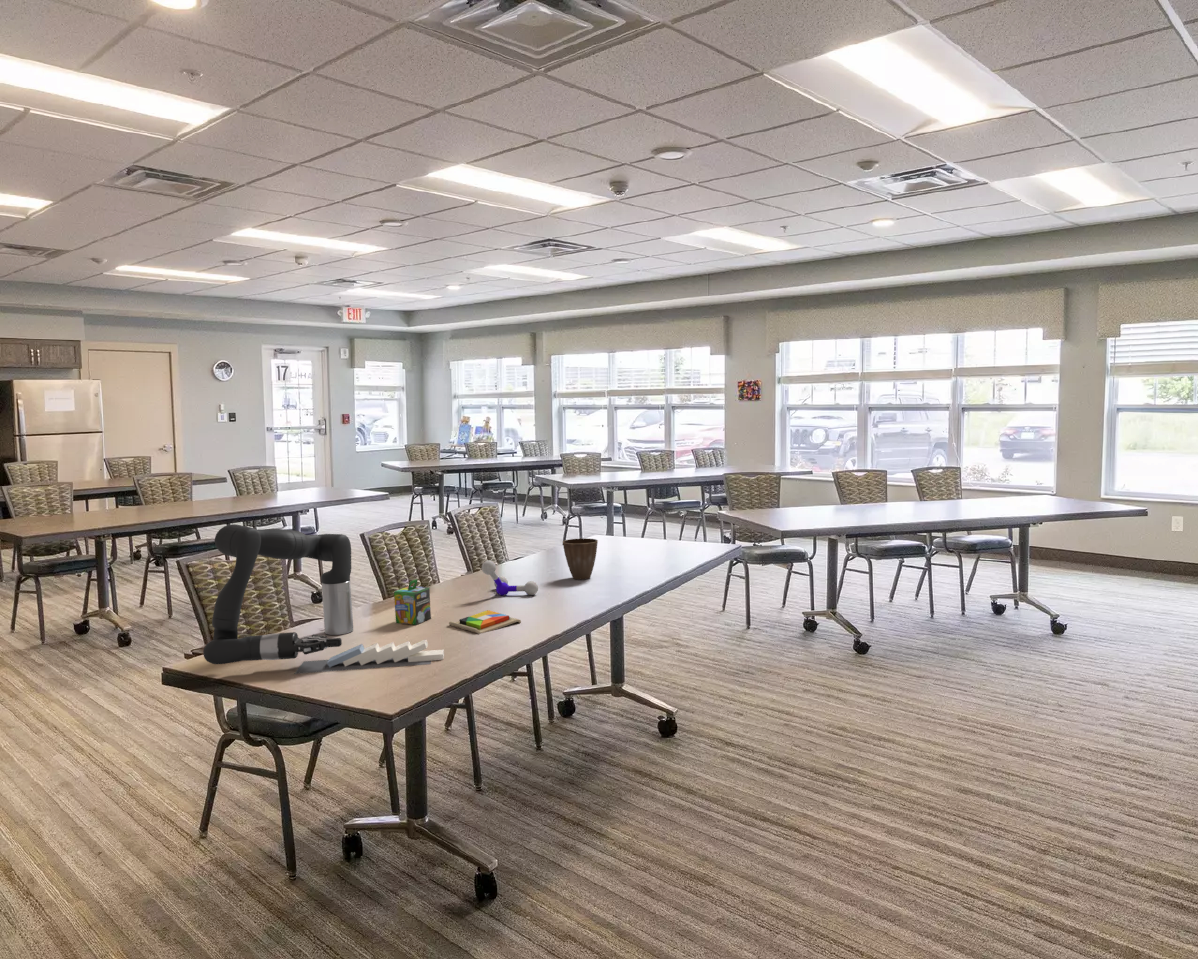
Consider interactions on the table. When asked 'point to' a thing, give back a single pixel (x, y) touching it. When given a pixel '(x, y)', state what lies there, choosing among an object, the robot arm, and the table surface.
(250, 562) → the robot arm
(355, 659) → the tile
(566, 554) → the plant pot
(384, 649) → the tile
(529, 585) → the molecular model
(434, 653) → the tile
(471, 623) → the wooden puzzle
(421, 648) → the tile
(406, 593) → the chalk box
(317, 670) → the runner
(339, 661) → the tile
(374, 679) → the table surface
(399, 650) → the tile
